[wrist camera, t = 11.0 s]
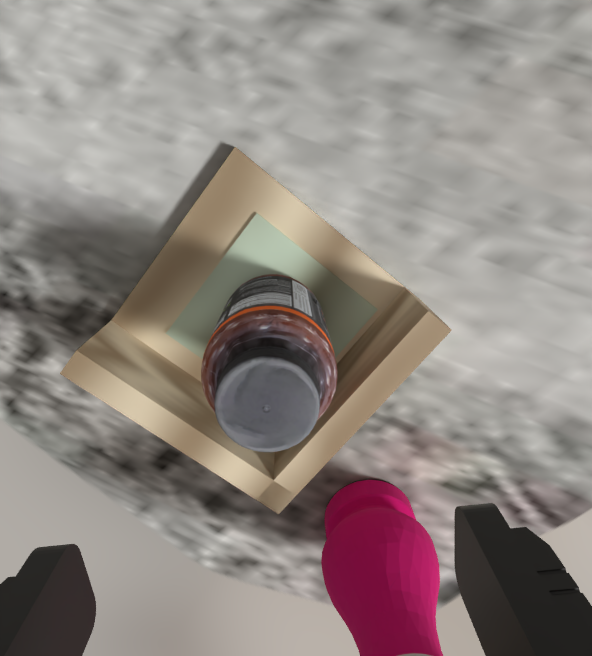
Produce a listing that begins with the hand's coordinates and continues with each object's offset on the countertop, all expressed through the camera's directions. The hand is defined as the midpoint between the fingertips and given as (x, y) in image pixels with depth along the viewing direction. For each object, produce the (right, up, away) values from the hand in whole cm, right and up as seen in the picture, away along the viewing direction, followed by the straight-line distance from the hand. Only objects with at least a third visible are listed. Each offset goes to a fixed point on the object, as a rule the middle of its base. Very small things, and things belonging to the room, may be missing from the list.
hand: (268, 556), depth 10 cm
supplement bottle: (-1, +5, +19) cm, 19 cm away
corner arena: (-2, +5, +19) cm, 20 cm away
